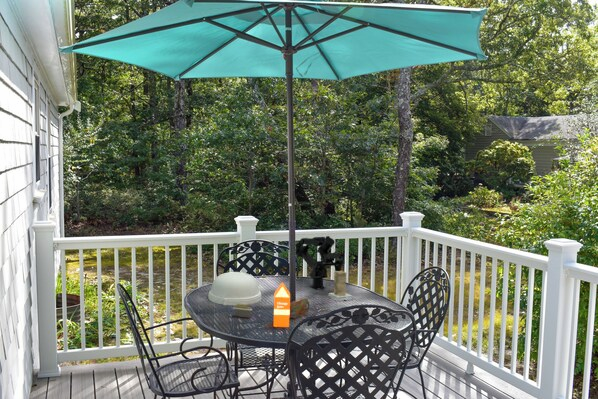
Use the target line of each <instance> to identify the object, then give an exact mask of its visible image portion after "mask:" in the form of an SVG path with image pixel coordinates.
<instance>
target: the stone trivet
mask: <svg viewBox="0 0 598 399" xmlns="http://www.w3.org/2000/svg"><path fill="white" fill-rule="evenodd" d="M328 296H331V297H333V298H336V299H341V298H346V297H352V296H353V295H351V294H350V293H347V292H346V295H340V296H338V295H336V294H334V292H329V293H328Z"/></svg>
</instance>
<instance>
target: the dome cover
mask: <svg viewBox="0 0 598 399" xmlns="http://www.w3.org/2000/svg"><path fill="white" fill-rule="evenodd" d="M207 299H208V301H210V302H211V303H214V304H219V305H223V306H237V304H238V305H239V304H242V305H244V306H245V304H248V305H253V304H256V303H258V302H260V301H261V300H262V293H261V290H260V288H259V283H258V280H257V279H256V278H255V277H254V276H253V275H252V274H249V273H247V272H240V271H232V272H231V271H230V272H224V273H222V274H219V275H217V276H216V277H215V279H213V282H212V284H211V289H210V290H209V291H208V297H207Z"/></svg>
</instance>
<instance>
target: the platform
mask: <svg viewBox="0 0 598 399" xmlns="http://www.w3.org/2000/svg"><path fill="white" fill-rule="evenodd" d="M232 309H233V310H234V317H238V316H239V317H241V318H249V319H250V318H251V312H252V311H253V308H252V307H250V306H249V304H245V305H242V304H239V305H238V304H237V305H233V307H232Z"/></svg>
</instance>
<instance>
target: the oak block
mask: <svg viewBox="0 0 598 399" xmlns="http://www.w3.org/2000/svg"><path fill="white" fill-rule="evenodd" d="M333 274H334V276H333V277H334V278H333V293H334V294H336V295H338V296H340V295H346V293H347V272H345V271H343V270H341V271H336V270H335V271H334V272H333Z"/></svg>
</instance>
